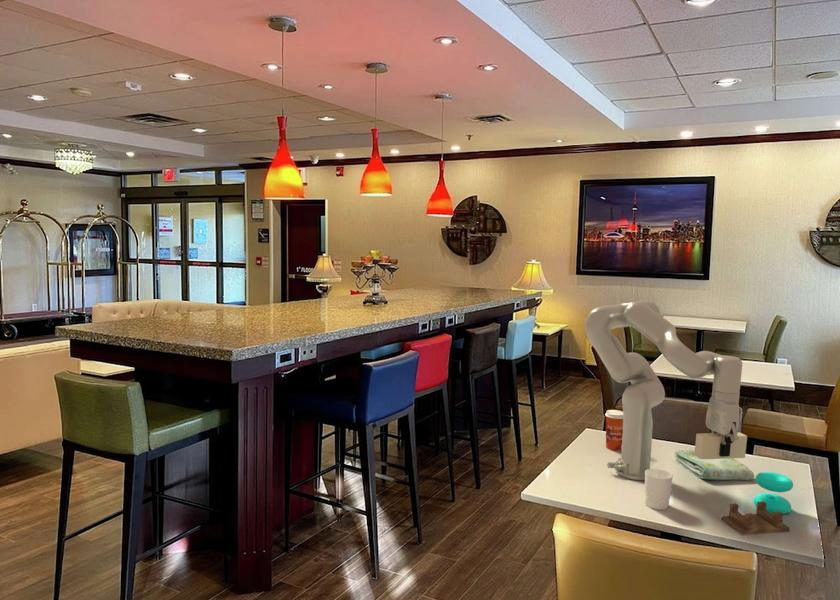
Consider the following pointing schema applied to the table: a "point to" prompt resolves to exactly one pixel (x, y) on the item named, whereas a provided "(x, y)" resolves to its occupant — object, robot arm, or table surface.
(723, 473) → the towel
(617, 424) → the paper cup
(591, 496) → the table surface
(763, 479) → the donuts
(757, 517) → the rack
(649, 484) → the white cup
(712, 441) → the cream rectangular block
